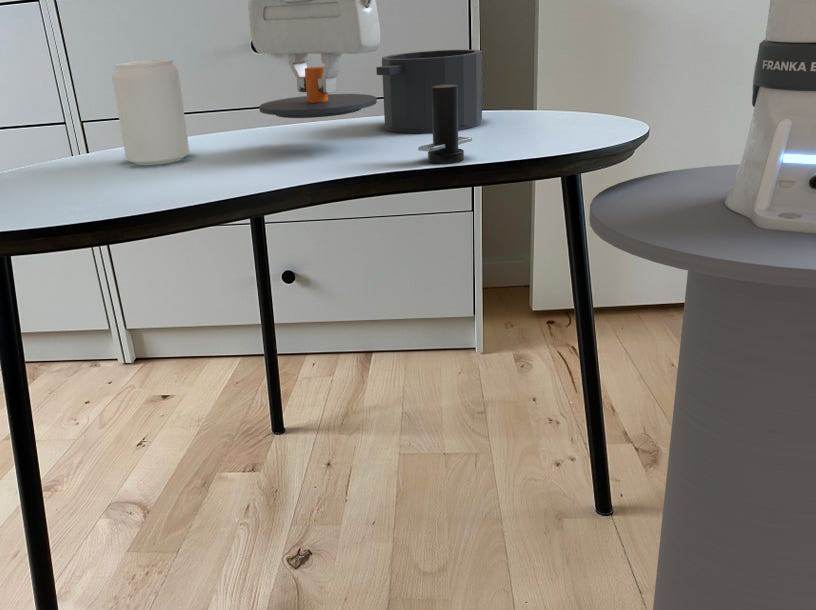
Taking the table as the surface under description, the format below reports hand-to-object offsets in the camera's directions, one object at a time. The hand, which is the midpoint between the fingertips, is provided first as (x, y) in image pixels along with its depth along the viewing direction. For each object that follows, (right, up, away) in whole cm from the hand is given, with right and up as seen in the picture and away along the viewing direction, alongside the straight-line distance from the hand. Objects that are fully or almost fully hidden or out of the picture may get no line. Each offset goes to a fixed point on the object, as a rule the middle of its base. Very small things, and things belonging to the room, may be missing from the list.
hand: (316, 92), depth 103 cm
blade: (+15, -11, -9) cm, 20 cm away
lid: (0, -2, +1) cm, 2 cm away
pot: (+16, 0, +15) cm, 22 cm away
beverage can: (-21, -8, +4) cm, 22 cm away
